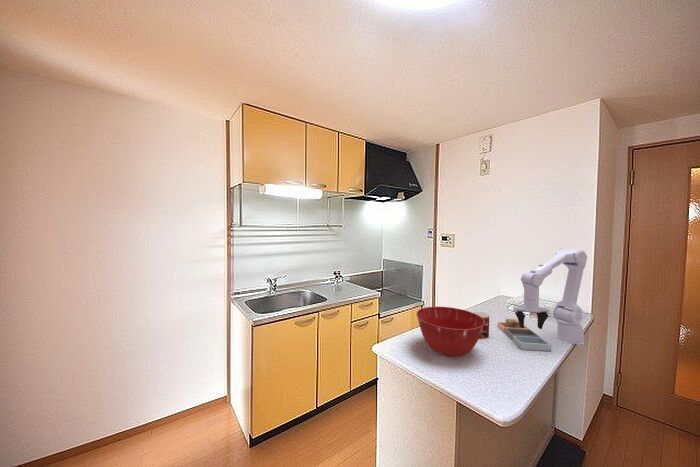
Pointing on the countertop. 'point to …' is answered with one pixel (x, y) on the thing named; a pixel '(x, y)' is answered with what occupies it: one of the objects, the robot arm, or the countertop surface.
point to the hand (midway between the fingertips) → (530, 327)
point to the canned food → (486, 326)
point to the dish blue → (532, 343)
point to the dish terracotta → (503, 325)
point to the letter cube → (512, 323)
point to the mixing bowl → (450, 330)
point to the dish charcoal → (520, 333)
